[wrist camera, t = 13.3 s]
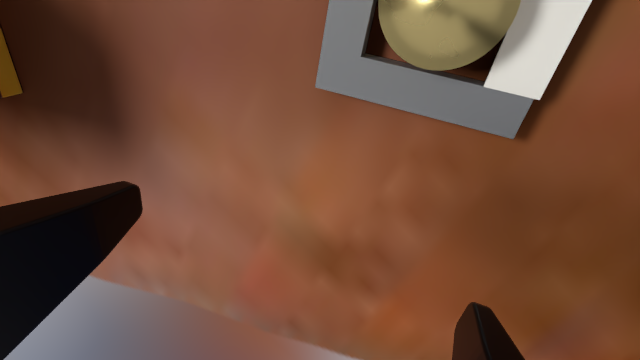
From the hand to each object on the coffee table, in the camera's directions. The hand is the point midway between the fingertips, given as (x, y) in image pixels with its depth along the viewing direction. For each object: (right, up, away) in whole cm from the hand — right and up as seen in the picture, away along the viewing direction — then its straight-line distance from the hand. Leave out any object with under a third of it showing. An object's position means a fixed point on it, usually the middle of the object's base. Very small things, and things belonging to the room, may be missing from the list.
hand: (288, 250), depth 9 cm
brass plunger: (+6, +10, +6) cm, 13 cm away
